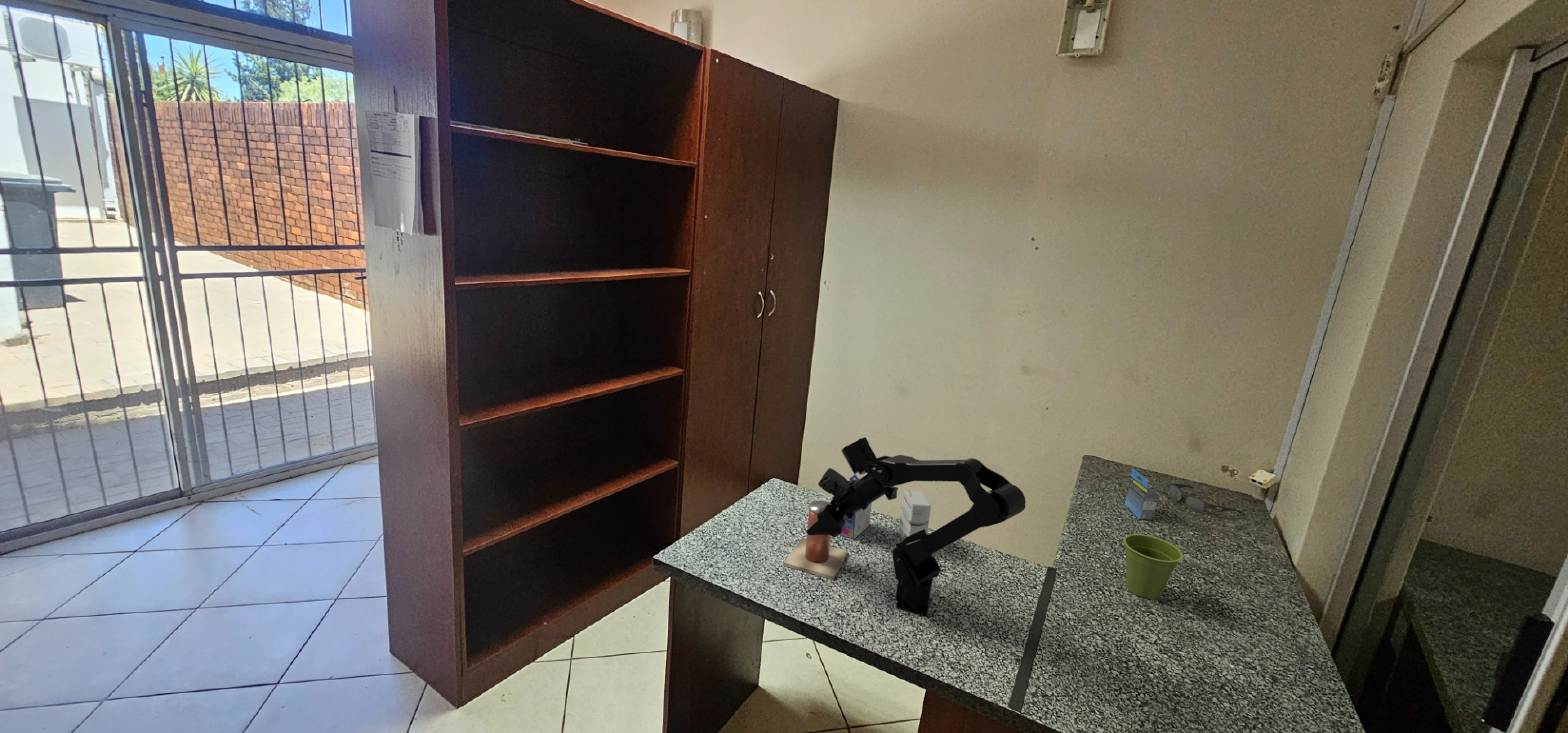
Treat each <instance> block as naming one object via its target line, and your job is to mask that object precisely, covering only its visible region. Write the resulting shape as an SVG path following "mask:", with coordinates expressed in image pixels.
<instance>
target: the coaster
mask: <svg viewBox="0 0 1568 733" xmlns="http://www.w3.org/2000/svg"><path fill="white" fill-rule="evenodd" d="M805 550H806V539H804V538H800V540H799V541H798V542H797V544H796V545H795V546H794V548H793V549H792V551H791V552H790V553H789V554H788V556H787V558H786V559H785V560H784V562H783V566H784V567H787V568H791V569H794V570H798V571H801V572H805V573H808V574H813V575H816V576H819V577H823V578H826V579H829V580H834V579H835V578H836V575H837V574H838V572H839V570H840V568H841V567H842V565H843V563H844V561H845V559H846V557H847V556H848V553H849V550H846V549H842V548H838V547H834V546H831V545H830V550H829V559H828V561H826V562H824V563H813V562H810V561H808V560H807V559H806V557H805Z"/></svg>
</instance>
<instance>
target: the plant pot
mask: <svg viewBox="0 0 1568 733" xmlns="http://www.w3.org/2000/svg"><path fill="white" fill-rule="evenodd" d="M1122 541H1123V542H1122V543H1123V544H1124V546H1125V548H1124V549H1125V550H1124V551H1125V555H1126V556H1125V586H1126V588H1127V589H1128V591H1130V592H1131V593H1133V594H1134V595H1136V596H1138V597H1144V598H1146V599H1150V600H1155V599H1157V600H1158V599H1160V598H1161V597H1162V595H1163V593H1164V591H1165V589H1166V586H1167V584H1168V582H1169V580H1170V578H1171V576H1172V573H1173V571H1174V569H1175V568H1177V565H1178V563H1180V562H1181V561H1182V560H1183V559H1184V553H1183V552H1182V551H1181V549H1179V548H1178V547H1177V546H1175V545H1174V544H1172V543H1171V542H1169V541H1166V540H1164V539H1161V538H1160V537H1155V536H1152V535H1147V534H1143V533H1142V534H1141V533H1130V534H1127V535H1125V536H1124V537H1123V540H1122Z"/></svg>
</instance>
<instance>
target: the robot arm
mask: <svg viewBox="0 0 1568 733" xmlns="http://www.w3.org/2000/svg"><path fill="white" fill-rule="evenodd" d="M841 452H842V455H843V456H844V459H845V460H846V462H847V464H848V465H849V468H850V470H851V471H852V472H853V475H855V474H856V475H857V474H859V476H861V477H860V478H859V480H854V479H853V480H852V481H850V480H848V479H847V478H846V477H845V476H843V475H842V474H840V473H839V472H838V471H836V470H835V469H833V468H830V467H829V468H828V469H826V471H825V472H824V474H823V475H822V477H820V480H819V481H818V486H819V487H820V488H821V489H822V490H823V491H824V492H826V493H827V494H830V495H833V497H832V500H830V501H829V503H831V504H832V505H829V504H827V505H826V506H824V507H823V508H822V509H821V510H820V511H819V512H818V514H817V518H818V520H817V521H816V522H815V523H814V524H813V525H812V526H811V527H810V528H809V529H808V530H806V535H807V534H808V535H831V538H836V537H838V536H839V535H841V533H842V531H843V530H844V528H845V523H846V521H845V520H844V519H843V517H844V516H845V515H846V516H847V517H848V518H849V519H851V518H852V517H853V516H854V514H855V513H856V512H858V511H859V510H861V509H863V510H865V509H866V508H867V507H868V505H869V504H870V503H873V502H875V501H876V500H878V499H880V498H882V497H883V496H884V495H885V497H886V499H887V500H888V501H892V500H896V499H897V497H898V490H899V487H897V486H899V485H903V484H908V483H911V482H949V483H951V482H957V483H959V484H961V485H962V487H963V488H964V490H965V492H966V494H967V496H968V498H969V500H970V501H971V502H972V505H971V507H970V509H968V510H967V511H966V512H964V513H962V514H961V515H959V516H957V517H956V518H954V519H952V520H951V521H949V522H947V523H946V524H944V525H942V526H940V527H939V528H937V529H936V530H934V531H932V532H931V533H929V534H928V533H927V534H926V532H925V529H923V530H920V531H918V532H916V533H914V534H912V535H910V536H908V537H906V538H905V539H904V540H903V539H902V540H900V541H897V542H896V543H894V545H895V546H896V547H894V548H893V549H892V562H893V568H894V573H895V574H894V575H895V579H896V580H897V585H896V592H895V600H896V604H895V608H897V609H900V610H903V611H904V610H905V611H908V612H911V613H914V614H918V615H922V616H928V613H929V609H930V604H931V601H932V597H931V596H932V595H931V594H932V588H933V581H934V580H933V579H935V578H938V577H939V575H940V574H941V572H942V568H941V566H940V564H939V563H938V561H937V559H936V557H938V555H939V553H940V551H941V550H943V549H944V548H946V547H948V546H950V545H952V544H953V543H956V542H958V541H959V540H961V539H963V538H964V537H965V536H968V535H969V534H971V533H973V532H975V531H977V530H979V529H981V528H986V527H987V528H988V527H991V526H994V525H998V524H1001V523H1004V522H1006V521H1008V520H1009V519H1011V518H1013V517H1015V516H1016V515H1019V514H1021V513H1022V512H1024V511H1025V509H1026V496H1025V494H1024V493H1023V491H1022V490H1021V489H1020V487H1018V486H1016V485H1015V484H1012V483H1011V482H1010V481H1009V480H1008V479H1007V478H1006V477H1005V476H1003V475H1001V474H1000V473H999V472H996V471H994V470H992V469H991V468H990V467H989V468H988V467H987V465H985V464H984V463H982V461H980V460H978V459H977V458H973V457H972V458H967V459H933V460H932V459H930V460H929V459H928V460H925V459H924V460H923V459H922V460H920V459H916V458H915V457H913V456H908V455H904V454H897V455H895V456H890V455H882V456H880V457H877V456H876V454H875V452H874V450H873V448H872V447H871V445H870V443H869V440H868V439H867V437H865V436H864V437H861V438H859V439H857V440H855V441H854V442H852V443H851V444H848V445H846V446H844V447H843V448H842V449H841ZM862 475H864V476H862ZM983 486H985V488H988V489H990V490H988V491H987V490H986V489H985V488H984V487H983Z"/></svg>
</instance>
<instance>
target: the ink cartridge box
mask: <svg viewBox="0 0 1568 733" xmlns="http://www.w3.org/2000/svg"><path fill="white" fill-rule="evenodd" d="M859 479H860V478H858V476H857V473H856V474H853V475H852V476H851V477H849V481H852V480H859ZM872 503H873V502H872ZM872 503H870V504H869V505H868V507H867V508H866V509H865V510H863V509H861V510H859V511H858V512H856V513H855V514H854V516H853V517H852V518H851V519H849V518H848V517H847V516H846V515H845V516H844V517H843V519H844V520H845V521H846V523H845V528H844V530H843V531H842V533H841V534H840V535H841V536H844V537H847V538H849V539H851V540H854V539H856V538H857V537H858V536H859V535H860V534H861V533H862V532H864V531H865V530H866V529H867V528H868V527H869V526H870V525H871V524H870V523H871V512H872Z"/></svg>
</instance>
